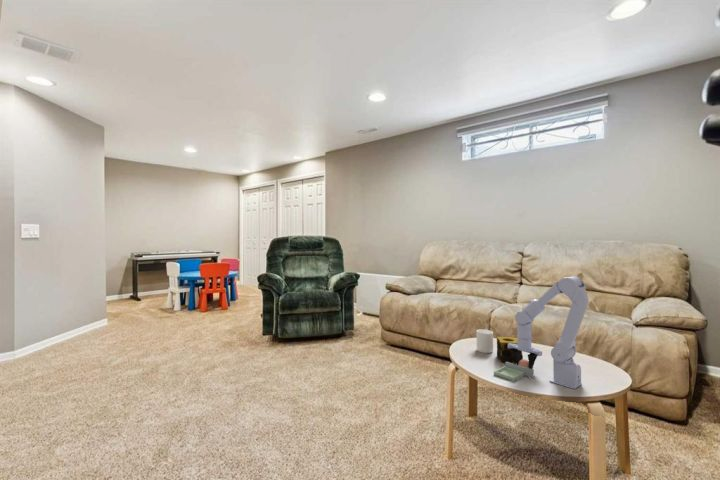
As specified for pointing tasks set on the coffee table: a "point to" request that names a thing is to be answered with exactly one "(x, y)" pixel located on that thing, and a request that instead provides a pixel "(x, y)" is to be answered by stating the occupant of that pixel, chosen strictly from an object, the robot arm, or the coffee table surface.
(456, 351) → the coffee table surface
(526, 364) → the ball
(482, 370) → the coffee table surface
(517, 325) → the robot arm
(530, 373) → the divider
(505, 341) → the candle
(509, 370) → the tray
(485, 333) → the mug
